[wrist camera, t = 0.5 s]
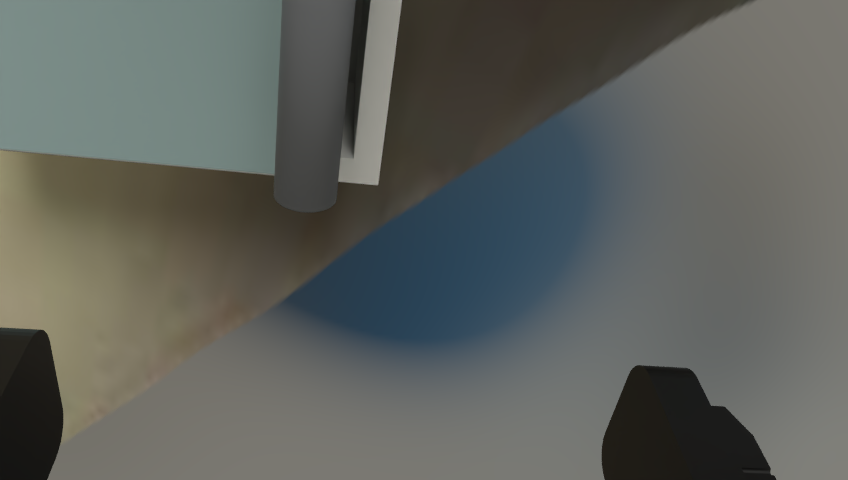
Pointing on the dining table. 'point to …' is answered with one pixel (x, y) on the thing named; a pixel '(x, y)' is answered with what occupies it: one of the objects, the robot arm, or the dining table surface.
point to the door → (183, 85)
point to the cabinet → (358, 92)
